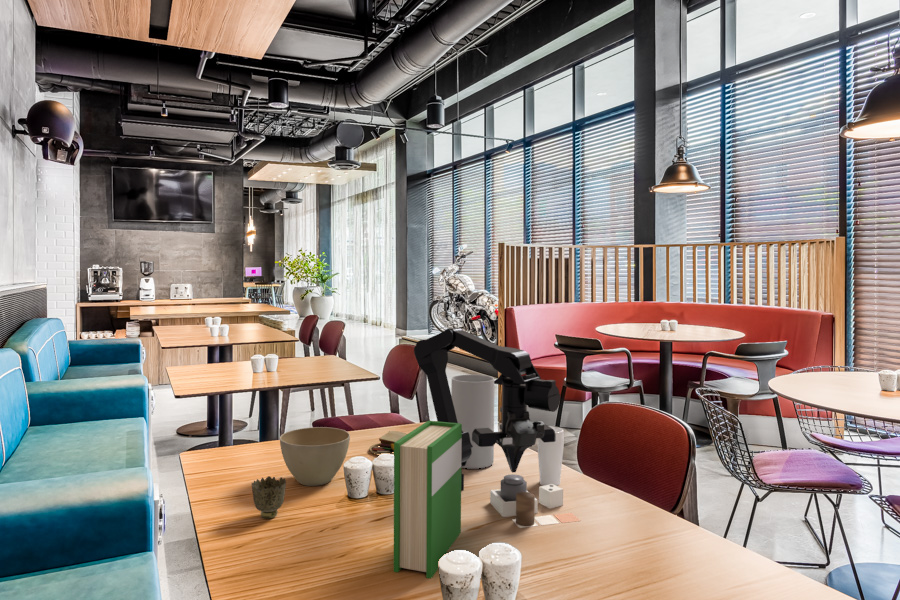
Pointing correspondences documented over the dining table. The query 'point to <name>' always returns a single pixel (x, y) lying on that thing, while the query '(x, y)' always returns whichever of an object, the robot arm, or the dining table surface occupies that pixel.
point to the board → (510, 510)
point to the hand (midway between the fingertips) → (513, 471)
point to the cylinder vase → (475, 413)
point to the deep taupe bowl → (314, 453)
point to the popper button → (512, 487)
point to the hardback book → (427, 495)
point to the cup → (268, 495)
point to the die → (551, 496)
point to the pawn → (525, 508)
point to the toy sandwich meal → (387, 442)
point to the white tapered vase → (551, 458)
